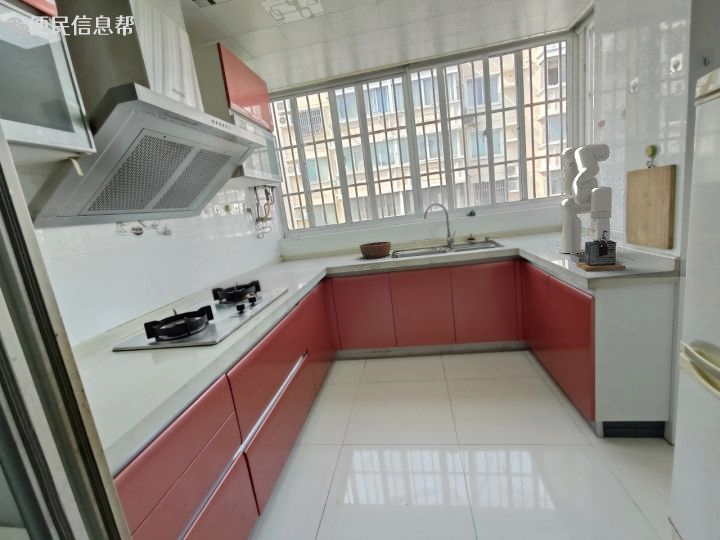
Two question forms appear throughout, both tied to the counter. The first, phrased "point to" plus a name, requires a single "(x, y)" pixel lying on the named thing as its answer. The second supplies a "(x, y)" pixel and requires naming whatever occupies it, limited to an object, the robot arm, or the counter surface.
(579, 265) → the walnut board
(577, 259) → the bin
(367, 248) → the wooden bowl
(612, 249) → the small box
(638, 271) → the counter surface
